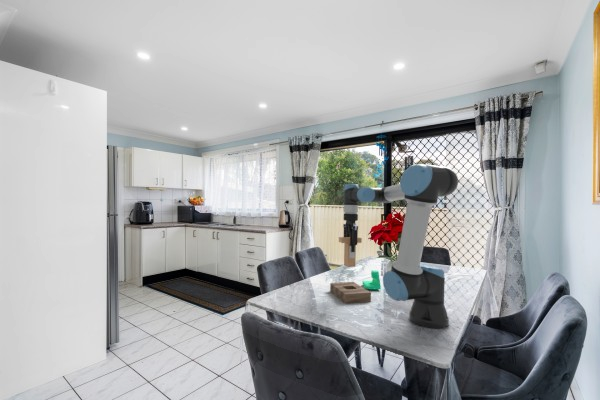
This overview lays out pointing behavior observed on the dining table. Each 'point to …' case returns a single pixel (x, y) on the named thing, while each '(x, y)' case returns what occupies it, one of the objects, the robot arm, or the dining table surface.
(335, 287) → the well block
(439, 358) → the dining table surface
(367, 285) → the camera mount
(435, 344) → the dining table surface
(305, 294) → the dining table surface
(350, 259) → the wooden t-shaped post
